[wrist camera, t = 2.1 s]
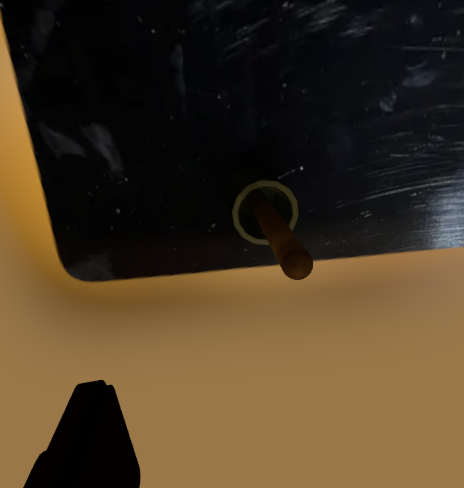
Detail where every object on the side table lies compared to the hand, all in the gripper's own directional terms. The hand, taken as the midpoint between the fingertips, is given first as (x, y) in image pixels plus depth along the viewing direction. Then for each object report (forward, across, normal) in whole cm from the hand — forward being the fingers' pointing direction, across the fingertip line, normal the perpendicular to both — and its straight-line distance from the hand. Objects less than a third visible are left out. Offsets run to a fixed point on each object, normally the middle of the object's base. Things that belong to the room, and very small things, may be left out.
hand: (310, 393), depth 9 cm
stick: (+23, -2, 0) cm, 23 cm away
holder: (+24, -2, 0) cm, 24 cm away
